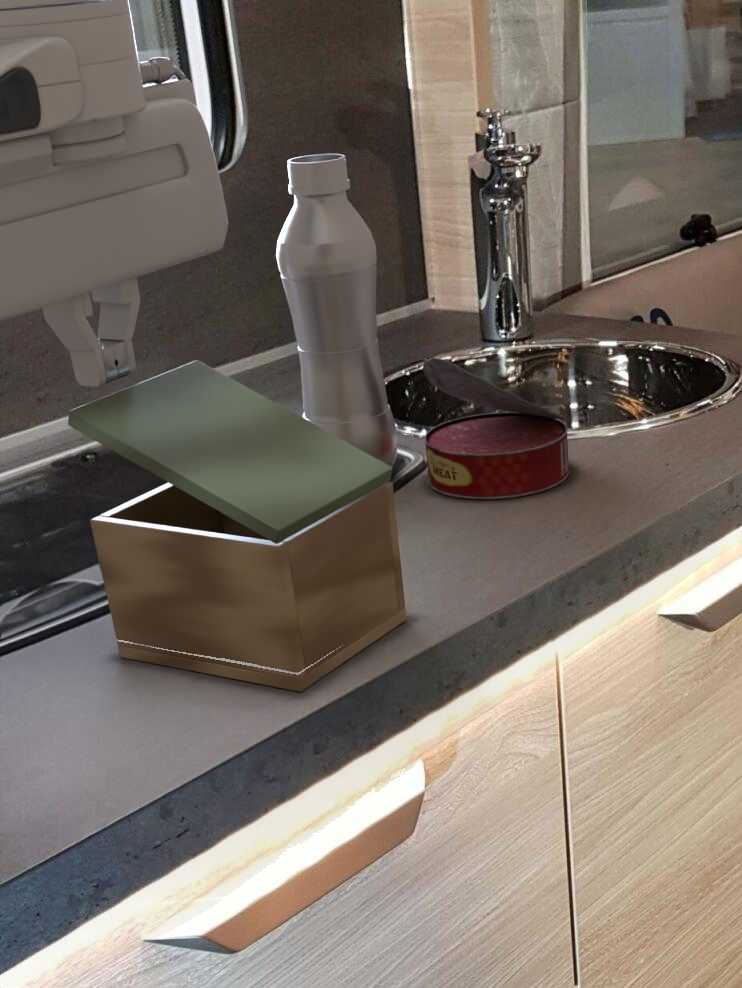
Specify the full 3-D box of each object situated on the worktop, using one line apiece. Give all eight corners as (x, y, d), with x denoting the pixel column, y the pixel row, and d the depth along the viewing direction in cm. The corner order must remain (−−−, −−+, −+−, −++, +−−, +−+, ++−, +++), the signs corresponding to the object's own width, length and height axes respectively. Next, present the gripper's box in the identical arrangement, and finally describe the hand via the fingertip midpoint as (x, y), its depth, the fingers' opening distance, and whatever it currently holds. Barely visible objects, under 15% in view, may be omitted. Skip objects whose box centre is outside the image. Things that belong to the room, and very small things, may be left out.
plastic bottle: (417, 479, 108) (387, 155, 96) (329, 500, 106) (287, 170, 94) (377, 458, 113) (343, 146, 101) (292, 478, 110) (247, 160, 98)
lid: (67, 425, 78) (68, 410, 78) (195, 373, 85) (197, 359, 85) (276, 545, 76) (278, 530, 75) (390, 481, 83) (393, 467, 82)
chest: (119, 657, 86) (89, 519, 81) (233, 591, 93) (211, 461, 88) (300, 692, 80) (279, 546, 76) (407, 619, 87) (393, 482, 83)
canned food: (439, 534, 112) (413, 392, 111) (575, 506, 112) (550, 364, 110) (430, 506, 101) (400, 348, 100) (581, 476, 101) (554, 317, 99)
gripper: (138, 52, 82) (184, 330, 90) (-163, 104, 68) (-76, 426, 77) (232, 51, 80) (271, 337, 88) (-62, 104, 66) (17, 438, 74)
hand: (107, 379), depth 82 cm, fingers closed
